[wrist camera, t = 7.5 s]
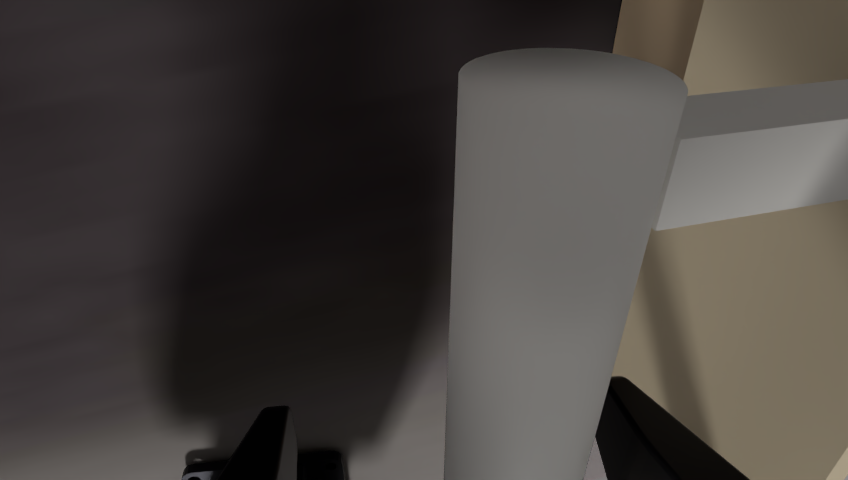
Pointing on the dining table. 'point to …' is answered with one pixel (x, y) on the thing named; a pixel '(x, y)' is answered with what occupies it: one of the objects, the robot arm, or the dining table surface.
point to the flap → (655, 247)
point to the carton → (658, 32)
